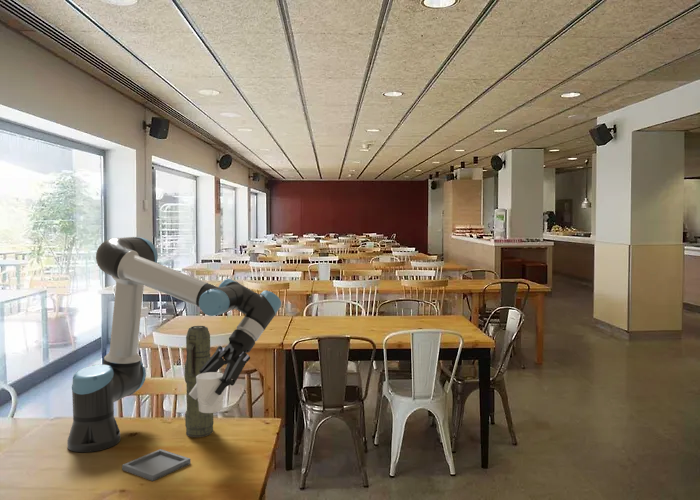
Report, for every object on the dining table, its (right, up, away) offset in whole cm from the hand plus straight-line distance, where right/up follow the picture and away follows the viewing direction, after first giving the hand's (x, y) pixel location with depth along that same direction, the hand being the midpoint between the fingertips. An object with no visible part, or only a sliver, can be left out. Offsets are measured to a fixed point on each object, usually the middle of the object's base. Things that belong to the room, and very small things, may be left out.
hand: (200, 400), depth 160 cm
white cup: (+2, -4, +3) cm, 5 cm away
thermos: (-7, -18, +25) cm, 32 cm away
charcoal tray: (-12, -19, -1) cm, 22 cm away
